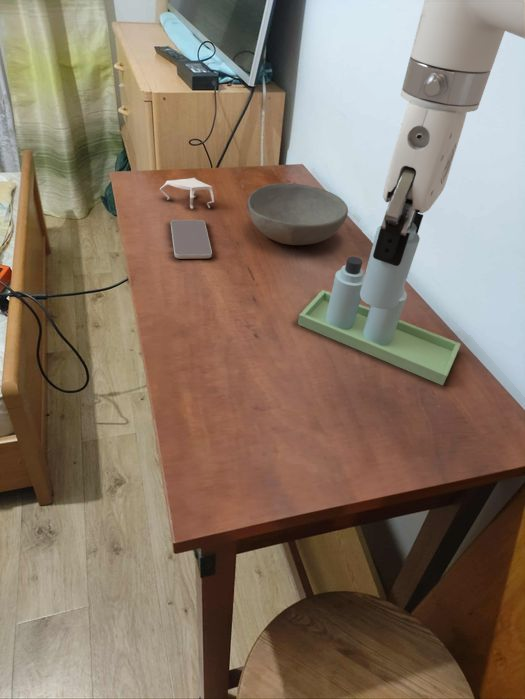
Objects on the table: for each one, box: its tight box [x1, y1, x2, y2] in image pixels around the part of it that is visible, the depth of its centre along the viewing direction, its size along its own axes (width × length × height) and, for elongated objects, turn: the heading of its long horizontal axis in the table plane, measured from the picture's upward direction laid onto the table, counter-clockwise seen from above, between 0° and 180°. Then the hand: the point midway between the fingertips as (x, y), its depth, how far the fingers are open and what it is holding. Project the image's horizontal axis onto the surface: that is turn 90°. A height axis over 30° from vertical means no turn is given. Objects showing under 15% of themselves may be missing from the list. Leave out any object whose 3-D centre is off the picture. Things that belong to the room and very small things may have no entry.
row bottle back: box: [326, 256, 365, 329], centre depth 85 cm, size 5×5×12 cm
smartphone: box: [170, 219, 213, 260], centre depth 105 cm, size 7×1×15 cm
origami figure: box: [159, 177, 215, 210], centre depth 117 cm, size 12×8×5 cm
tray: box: [297, 289, 462, 387], centre depth 86 cm, size 26×10×2 cm, turn 60°
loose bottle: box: [360, 210, 421, 309], centre depth 61 cm, size 5×5×12 cm
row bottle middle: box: [363, 286, 408, 345], centre depth 83 cm, size 5×5×12 cm
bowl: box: [247, 182, 349, 246], centre depth 109 cm, size 21×21×8 cm
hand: (394, 249), depth 61 cm, fingers closed on loose bottle, 5 cm apart
